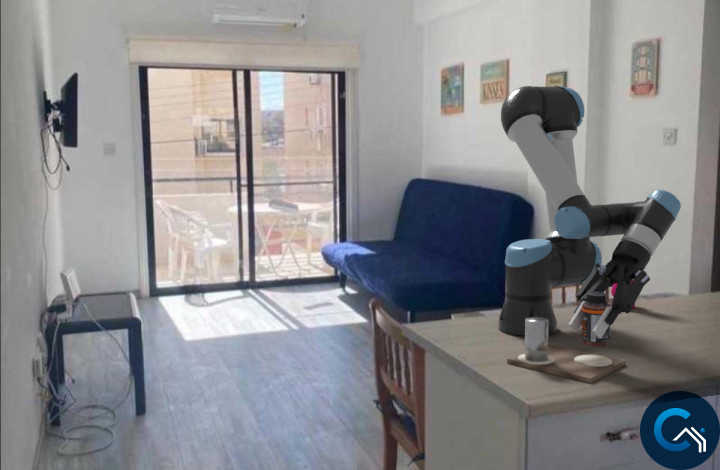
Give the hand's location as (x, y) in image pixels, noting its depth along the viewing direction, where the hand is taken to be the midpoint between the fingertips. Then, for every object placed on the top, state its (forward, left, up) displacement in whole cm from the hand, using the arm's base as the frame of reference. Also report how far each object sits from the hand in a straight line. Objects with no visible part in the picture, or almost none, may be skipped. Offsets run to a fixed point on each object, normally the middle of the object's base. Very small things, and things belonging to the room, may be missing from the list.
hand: (584, 331), depth 151 cm
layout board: (-5, +1, -8) cm, 10 cm away
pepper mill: (-19, +61, -9) cm, 64 cm away
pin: (-10, -3, -8) cm, 13 cm away
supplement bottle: (+1, +4, -4) cm, 5 cm away
